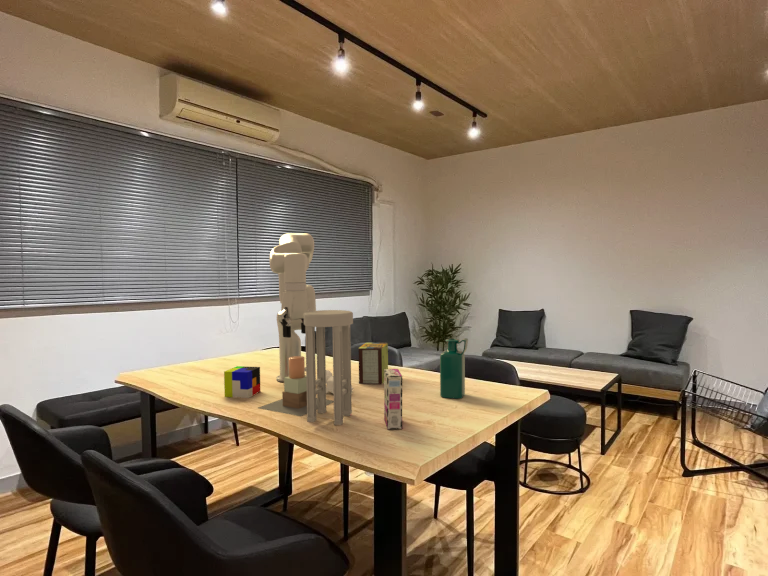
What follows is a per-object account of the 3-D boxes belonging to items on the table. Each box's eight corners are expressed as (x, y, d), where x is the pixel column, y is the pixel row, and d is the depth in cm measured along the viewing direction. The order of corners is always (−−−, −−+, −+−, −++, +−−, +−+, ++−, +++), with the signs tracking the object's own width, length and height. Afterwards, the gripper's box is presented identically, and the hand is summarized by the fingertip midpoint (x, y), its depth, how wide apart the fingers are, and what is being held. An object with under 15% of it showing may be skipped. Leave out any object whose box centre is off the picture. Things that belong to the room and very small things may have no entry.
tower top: (296, 387, 170) (296, 374, 170) (310, 389, 167) (310, 376, 167) (284, 391, 164) (284, 377, 164) (298, 393, 161) (298, 379, 161)
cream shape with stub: (351, 400, 182) (325, 382, 190) (357, 381, 180) (330, 363, 188) (337, 405, 176) (310, 386, 183) (343, 386, 173) (316, 367, 181)
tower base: (296, 400, 171) (296, 387, 171) (312, 403, 167) (312, 389, 167) (282, 405, 164) (282, 391, 164) (298, 408, 161) (298, 394, 160)
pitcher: (439, 397, 174) (438, 339, 173) (444, 392, 182) (443, 336, 181) (465, 399, 170) (464, 340, 169) (469, 394, 178) (468, 337, 177)
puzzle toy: (248, 398, 177) (247, 372, 176) (224, 397, 179) (224, 371, 178) (260, 391, 186) (259, 366, 186) (237, 390, 188) (237, 366, 188)
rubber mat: (295, 395, 179) (295, 394, 179) (336, 402, 169) (336, 401, 169) (257, 409, 162) (257, 407, 162) (300, 417, 152) (300, 416, 152)
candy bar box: (403, 429, 139) (402, 375, 139) (387, 430, 139) (386, 376, 138) (399, 417, 151) (398, 368, 150) (383, 418, 150) (383, 368, 150)
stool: (359, 412, 157) (357, 310, 156) (345, 427, 142) (343, 314, 140) (316, 409, 160) (314, 309, 159) (298, 424, 145) (296, 313, 144)
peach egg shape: (296, 374, 169) (295, 355, 169) (308, 376, 166) (307, 356, 166) (285, 377, 164) (285, 358, 164) (297, 379, 162) (297, 359, 161)
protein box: (388, 376, 210) (388, 342, 210) (382, 384, 195) (381, 348, 194) (366, 375, 212) (365, 342, 211) (358, 383, 197) (357, 347, 196)
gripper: (303, 286, 174) (303, 331, 174) (270, 288, 159) (271, 338, 160) (318, 286, 170) (319, 332, 171) (286, 289, 155) (287, 339, 156)
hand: (296, 335), depth 165 cm, fingers open, 9 cm apart
